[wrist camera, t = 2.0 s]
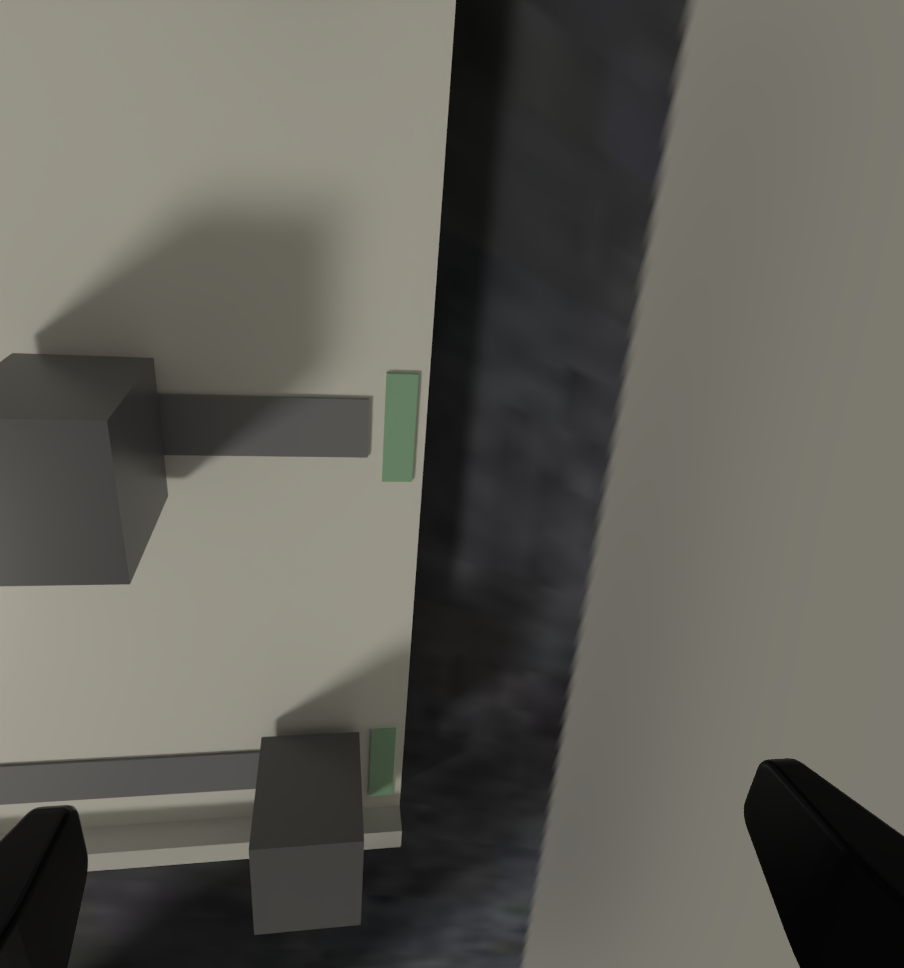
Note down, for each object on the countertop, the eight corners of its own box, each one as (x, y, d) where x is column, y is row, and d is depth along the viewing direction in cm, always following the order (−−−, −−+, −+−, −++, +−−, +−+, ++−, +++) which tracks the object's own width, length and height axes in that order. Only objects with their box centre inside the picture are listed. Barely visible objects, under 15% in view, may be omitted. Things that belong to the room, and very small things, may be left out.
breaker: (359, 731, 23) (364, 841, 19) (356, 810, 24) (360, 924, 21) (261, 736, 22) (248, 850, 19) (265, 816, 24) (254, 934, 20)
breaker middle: (153, 357, 17) (107, 421, 13) (168, 496, 18) (130, 584, 15) (11, 353, 16) (-75, 417, 13) (39, 495, 18) (-31, 586, 14)
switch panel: (469, -342, 14) (494, -431, 11) (395, 786, 27) (400, 846, 25) (-574, -552, 11) (-805, -723, 9) (-82, 817, 24) (-124, 888, 22)
